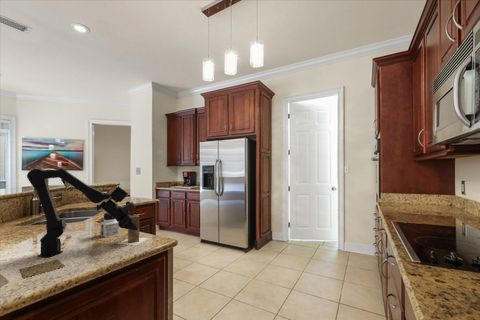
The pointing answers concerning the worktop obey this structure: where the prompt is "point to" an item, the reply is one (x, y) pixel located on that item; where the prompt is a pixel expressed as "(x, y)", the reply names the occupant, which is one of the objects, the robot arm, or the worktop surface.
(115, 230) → the container
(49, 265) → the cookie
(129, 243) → the tile
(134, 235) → the walnut block
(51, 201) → the robot arm
